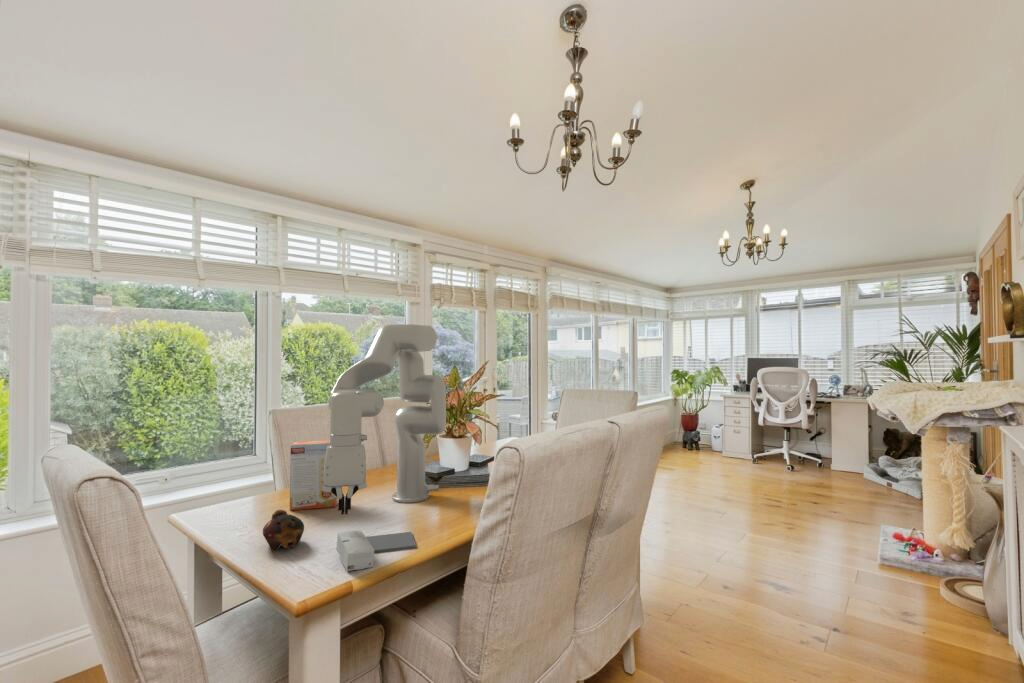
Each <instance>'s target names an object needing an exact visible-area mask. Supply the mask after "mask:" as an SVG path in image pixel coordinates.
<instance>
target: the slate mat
mask: <svg viewBox="0 0 1024 683" xmlns="http://www.w3.org/2000/svg"><path fill="white" fill-rule="evenodd" d="M366 538H367V539H368V541H369V542H370V544H371V546H372V547H373V549H374V554H375V553H376V554H377V553H384V552H394V551H400V550H408V549H416V548H417V545H416V541H415V539H414V535H413V532H412V531H406V532H397V533H395V532H394V533H387V534H379V535H368V536H366Z"/></svg>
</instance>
